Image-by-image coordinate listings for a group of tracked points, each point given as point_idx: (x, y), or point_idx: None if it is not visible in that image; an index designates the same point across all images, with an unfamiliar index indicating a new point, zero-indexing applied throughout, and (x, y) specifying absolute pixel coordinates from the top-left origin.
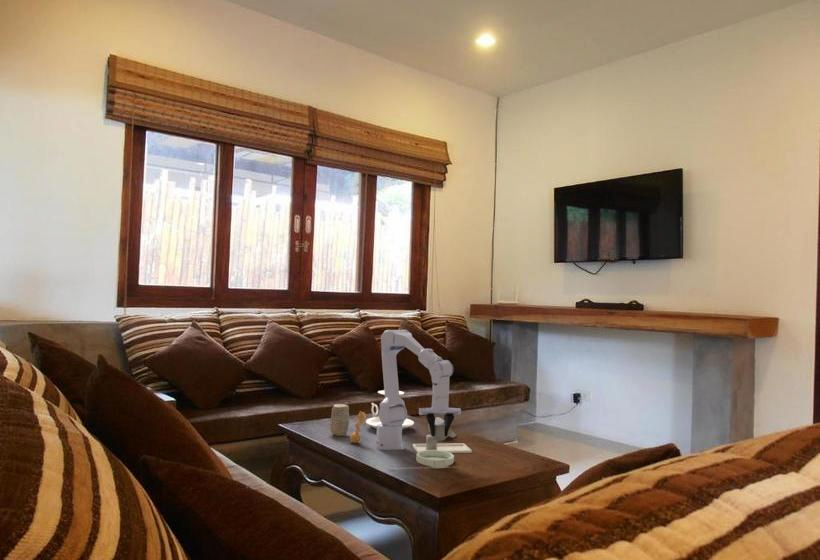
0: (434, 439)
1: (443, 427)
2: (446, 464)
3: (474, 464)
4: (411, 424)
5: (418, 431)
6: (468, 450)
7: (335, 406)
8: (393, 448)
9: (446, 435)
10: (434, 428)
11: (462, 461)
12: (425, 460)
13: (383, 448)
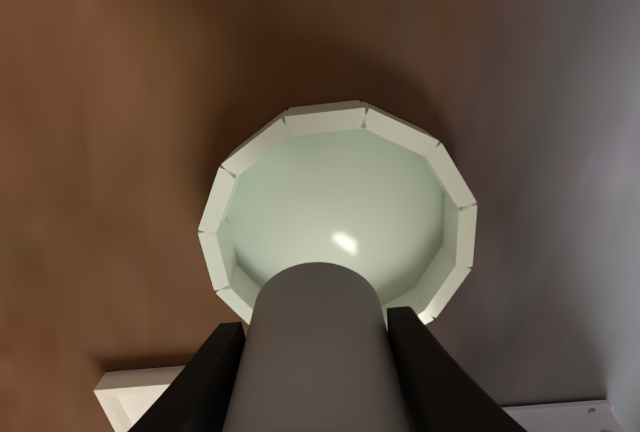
0: (374, 290)
1: (250, 410)
2: (268, 124)
3: (74, 198)
4: None
5: None
6: (113, 389)
7: None
8: (532, 416)
9: (224, 328)
10: (404, 407)
11: (156, 254)
12: (434, 138)
13: (584, 416)
